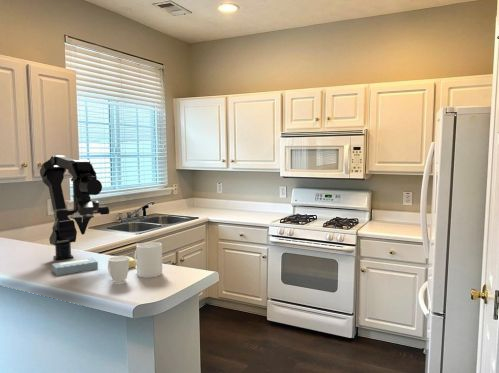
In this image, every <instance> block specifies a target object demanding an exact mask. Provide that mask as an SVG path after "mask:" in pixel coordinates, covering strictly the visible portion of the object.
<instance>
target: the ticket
mask: <svg viewBox="0 0 499 373" xmlns="http://www.w3.org/2000/svg"><path fill="white" fill-rule="evenodd" d="M51 265H52V267H51V268H52V272H53V273H54V274H55V276H62V275H66V274H67V273H68V274H73V273H79V272H80V273H81V272H86V271H91V270H97V269H99V262H98V261H97V260H95V259H94V258H93V257H89V258H81V259H76V260H75V259H74V260H68V261H61V262H56V263H52V264H51ZM61 274H62V275H61Z"/></svg>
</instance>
